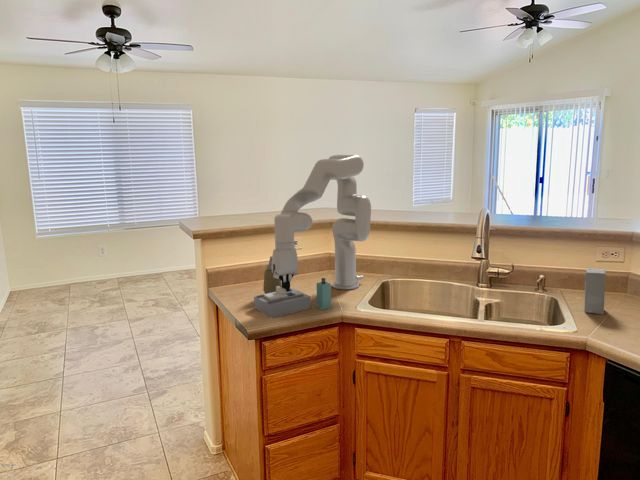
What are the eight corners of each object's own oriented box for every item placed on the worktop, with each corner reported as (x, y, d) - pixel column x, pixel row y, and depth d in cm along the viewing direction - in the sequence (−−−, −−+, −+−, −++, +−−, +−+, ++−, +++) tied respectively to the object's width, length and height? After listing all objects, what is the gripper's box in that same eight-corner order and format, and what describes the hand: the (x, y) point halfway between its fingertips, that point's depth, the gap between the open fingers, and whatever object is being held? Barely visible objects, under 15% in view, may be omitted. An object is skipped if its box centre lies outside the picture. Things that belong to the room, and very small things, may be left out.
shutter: (278, 293, 189) (278, 285, 188) (287, 297, 183) (287, 289, 182) (263, 296, 185) (263, 288, 184) (272, 301, 179) (271, 292, 178)
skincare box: (603, 315, 173) (607, 274, 170) (581, 312, 177) (585, 271, 174) (604, 308, 180) (608, 269, 177) (582, 305, 184) (586, 267, 181)
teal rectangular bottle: (325, 304, 190) (324, 276, 188) (330, 307, 187) (330, 278, 184) (317, 306, 188) (316, 278, 185) (322, 309, 184) (322, 280, 182)
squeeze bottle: (279, 300, 196) (277, 259, 193) (261, 299, 198) (259, 258, 194) (284, 294, 204) (283, 254, 201) (267, 293, 206) (265, 254, 202)
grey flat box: (292, 299, 197) (292, 286, 196) (310, 308, 186) (310, 294, 185) (254, 308, 187) (253, 294, 186) (271, 318, 176) (270, 303, 175)
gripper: (295, 242, 190) (296, 285, 193) (263, 246, 182) (265, 291, 185) (305, 244, 184) (306, 289, 187) (272, 249, 176) (274, 296, 179)
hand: (286, 290), depth 186 cm, fingers closed
